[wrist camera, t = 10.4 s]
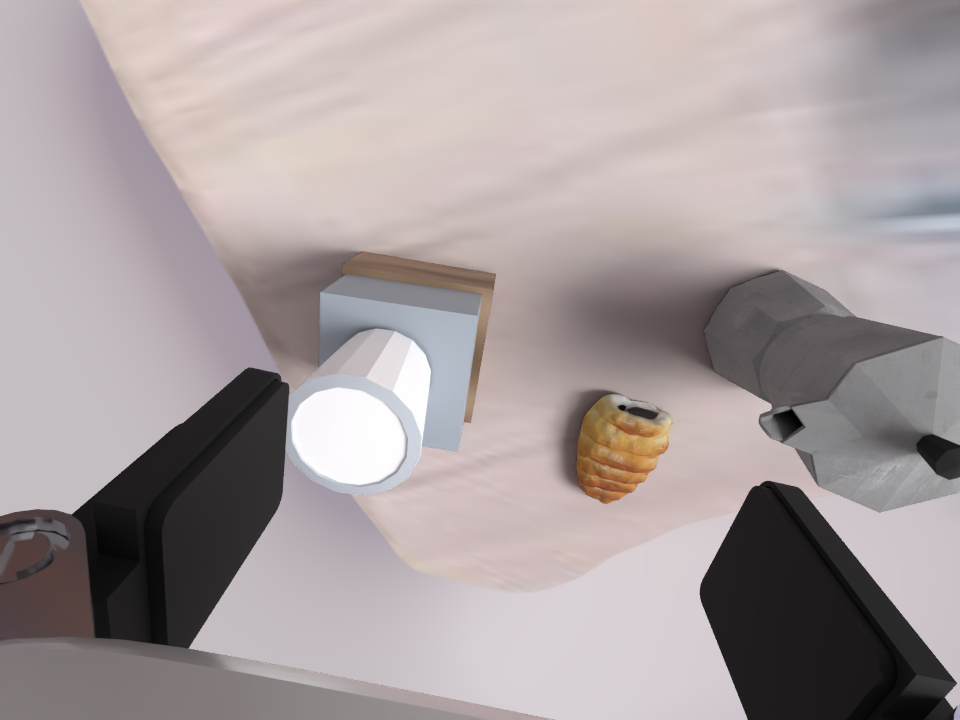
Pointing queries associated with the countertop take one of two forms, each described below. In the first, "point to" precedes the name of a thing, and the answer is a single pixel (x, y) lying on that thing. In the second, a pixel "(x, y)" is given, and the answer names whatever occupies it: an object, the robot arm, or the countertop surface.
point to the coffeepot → (844, 390)
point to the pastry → (619, 446)
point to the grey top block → (421, 317)
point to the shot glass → (361, 414)
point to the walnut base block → (434, 277)
